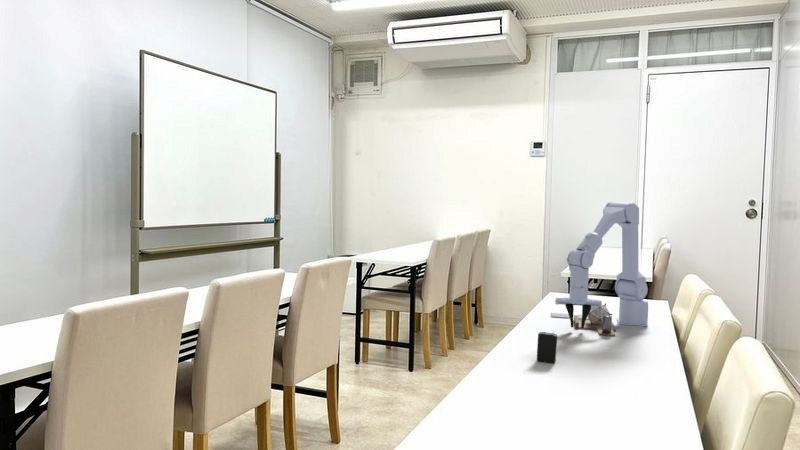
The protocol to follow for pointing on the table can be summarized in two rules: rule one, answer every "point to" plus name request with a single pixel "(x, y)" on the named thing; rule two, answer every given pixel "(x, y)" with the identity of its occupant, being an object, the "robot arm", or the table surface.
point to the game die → (598, 314)
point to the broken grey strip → (565, 316)
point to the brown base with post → (603, 329)
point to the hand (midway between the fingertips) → (577, 327)
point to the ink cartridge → (546, 347)
